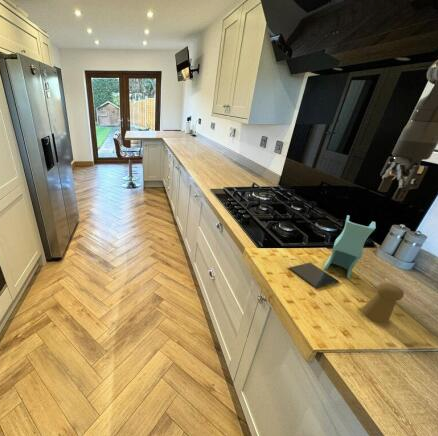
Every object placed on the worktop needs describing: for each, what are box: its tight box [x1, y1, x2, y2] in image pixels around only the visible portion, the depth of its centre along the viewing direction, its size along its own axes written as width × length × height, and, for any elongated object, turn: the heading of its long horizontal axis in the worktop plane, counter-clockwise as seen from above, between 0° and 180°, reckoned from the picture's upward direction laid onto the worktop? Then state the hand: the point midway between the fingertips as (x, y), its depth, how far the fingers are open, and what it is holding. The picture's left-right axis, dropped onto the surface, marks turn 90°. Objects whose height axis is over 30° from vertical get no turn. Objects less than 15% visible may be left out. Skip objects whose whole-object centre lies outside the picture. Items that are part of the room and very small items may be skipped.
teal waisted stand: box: [323, 214, 377, 279], centre depth 84 cm, size 8×8×20 cm
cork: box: [361, 282, 405, 325], centre depth 67 cm, size 6×6×11 cm
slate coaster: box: [288, 262, 340, 289], centre depth 85 cm, size 11×11×1 cm
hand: (389, 195), depth 70 cm, fingers open, 8 cm apart
